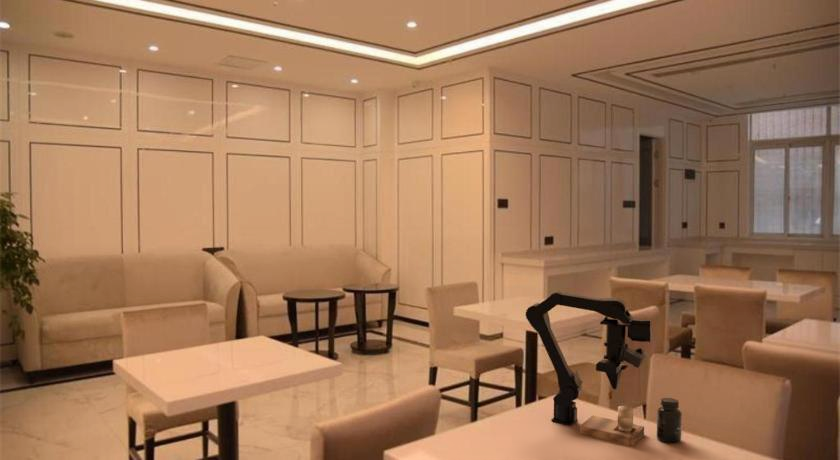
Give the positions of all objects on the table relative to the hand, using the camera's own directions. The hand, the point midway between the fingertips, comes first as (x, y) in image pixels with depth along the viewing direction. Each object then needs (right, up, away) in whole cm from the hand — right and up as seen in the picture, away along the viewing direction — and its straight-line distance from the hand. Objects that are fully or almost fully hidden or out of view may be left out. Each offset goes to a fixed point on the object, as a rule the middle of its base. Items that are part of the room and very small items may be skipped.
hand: (614, 388), depth 185 cm
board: (-2, -13, -4) cm, 14 cm away
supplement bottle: (+13, -13, -8) cm, 20 cm away
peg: (+1, -13, -7) cm, 15 cm away
